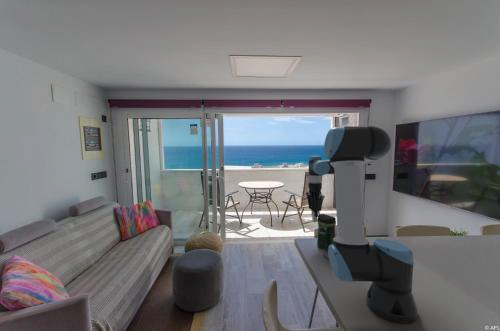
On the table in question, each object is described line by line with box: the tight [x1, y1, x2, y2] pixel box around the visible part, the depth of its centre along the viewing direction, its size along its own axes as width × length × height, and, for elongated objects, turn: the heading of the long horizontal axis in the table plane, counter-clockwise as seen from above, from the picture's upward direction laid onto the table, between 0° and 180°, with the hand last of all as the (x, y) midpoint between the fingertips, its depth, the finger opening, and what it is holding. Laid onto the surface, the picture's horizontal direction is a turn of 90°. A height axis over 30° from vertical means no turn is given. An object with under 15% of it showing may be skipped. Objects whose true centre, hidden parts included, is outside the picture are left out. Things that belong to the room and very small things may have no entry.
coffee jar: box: [316, 213, 337, 251], centre depth 127 cm, size 10×8×19 cm
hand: (314, 221), depth 134 cm, fingers closed
